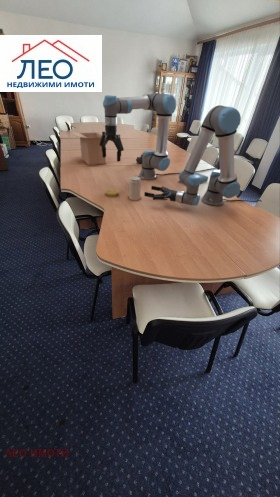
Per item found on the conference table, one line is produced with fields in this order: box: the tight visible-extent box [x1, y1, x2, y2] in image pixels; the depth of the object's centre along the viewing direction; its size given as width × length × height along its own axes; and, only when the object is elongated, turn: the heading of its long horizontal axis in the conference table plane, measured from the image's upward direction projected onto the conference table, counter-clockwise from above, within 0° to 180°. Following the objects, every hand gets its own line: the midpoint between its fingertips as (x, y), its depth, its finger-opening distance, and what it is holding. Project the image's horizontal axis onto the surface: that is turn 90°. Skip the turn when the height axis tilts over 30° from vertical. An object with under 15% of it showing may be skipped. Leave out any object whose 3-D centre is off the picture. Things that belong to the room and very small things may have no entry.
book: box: [178, 172, 209, 185], centre depth 201 cm, size 23×16×5 cm
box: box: [70, 129, 107, 166], centre depth 229 cm, size 44×36×27 cm
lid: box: [105, 189, 119, 198], centre depth 168 cm, size 9×9×2 cm
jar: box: [128, 175, 142, 201], centre depth 162 cm, size 8×8×15 cm
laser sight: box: [135, 153, 143, 165], centre depth 238 cm, size 10×22×10 cm, turn 78°
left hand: (111, 159), depth 154 cm, fingers open, 13 cm apart
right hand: (148, 190), depth 158 cm, fingers open, 13 cm apart
